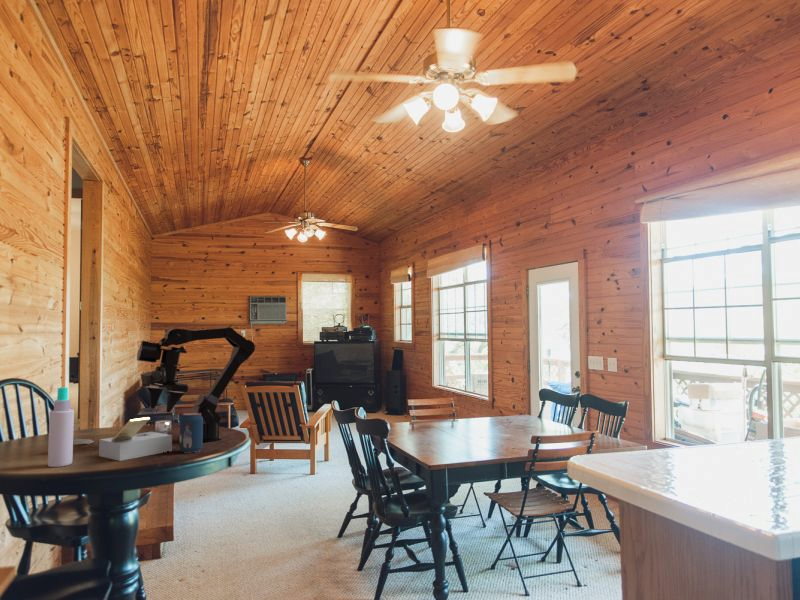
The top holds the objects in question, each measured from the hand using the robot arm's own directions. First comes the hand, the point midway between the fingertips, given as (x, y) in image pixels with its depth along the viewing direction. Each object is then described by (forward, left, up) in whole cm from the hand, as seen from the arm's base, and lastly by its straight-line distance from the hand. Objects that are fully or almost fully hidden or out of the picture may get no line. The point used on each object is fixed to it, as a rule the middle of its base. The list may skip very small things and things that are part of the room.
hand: (160, 410), depth 187 cm
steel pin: (-1, 0, -12) cm, 12 cm away
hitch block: (+12, +6, -12) cm, 17 cm away
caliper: (+18, -20, -12) cm, 30 cm away
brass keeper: (+17, +13, -3) cm, 21 cm away
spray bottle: (+33, +3, -12) cm, 35 cm away
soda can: (0, +17, -12) cm, 21 cm away
